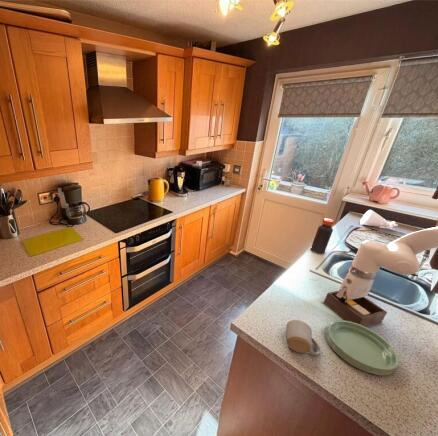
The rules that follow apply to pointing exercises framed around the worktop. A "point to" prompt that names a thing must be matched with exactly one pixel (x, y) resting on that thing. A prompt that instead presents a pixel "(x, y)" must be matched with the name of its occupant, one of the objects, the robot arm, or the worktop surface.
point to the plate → (362, 347)
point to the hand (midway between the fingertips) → (345, 306)
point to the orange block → (350, 302)
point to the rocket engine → (376, 220)
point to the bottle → (322, 236)
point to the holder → (350, 315)
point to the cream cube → (360, 310)
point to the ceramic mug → (300, 337)
